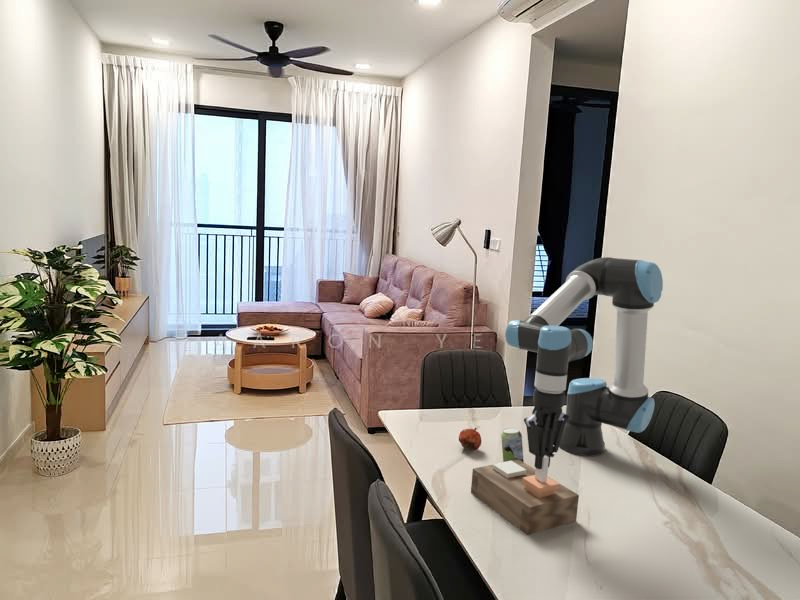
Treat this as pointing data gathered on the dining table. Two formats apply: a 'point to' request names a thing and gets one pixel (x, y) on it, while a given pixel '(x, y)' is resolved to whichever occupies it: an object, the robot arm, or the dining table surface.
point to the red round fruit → (470, 439)
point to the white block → (509, 469)
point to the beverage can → (512, 445)
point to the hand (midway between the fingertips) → (540, 479)
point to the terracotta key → (540, 486)
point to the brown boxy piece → (523, 500)
